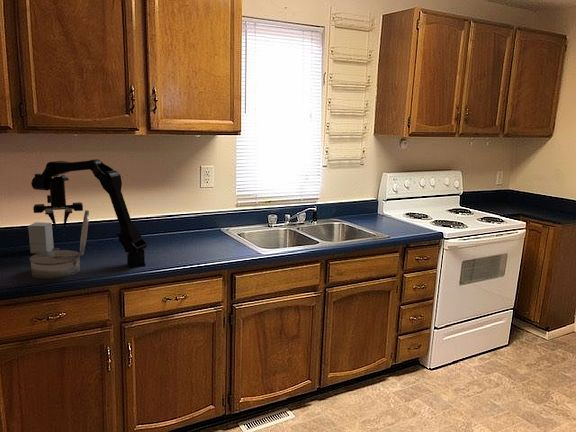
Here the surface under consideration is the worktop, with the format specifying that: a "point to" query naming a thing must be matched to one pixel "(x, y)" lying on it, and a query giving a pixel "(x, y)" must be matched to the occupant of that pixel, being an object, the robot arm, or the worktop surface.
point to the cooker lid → (84, 232)
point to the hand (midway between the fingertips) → (60, 227)
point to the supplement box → (40, 237)
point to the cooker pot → (55, 264)
